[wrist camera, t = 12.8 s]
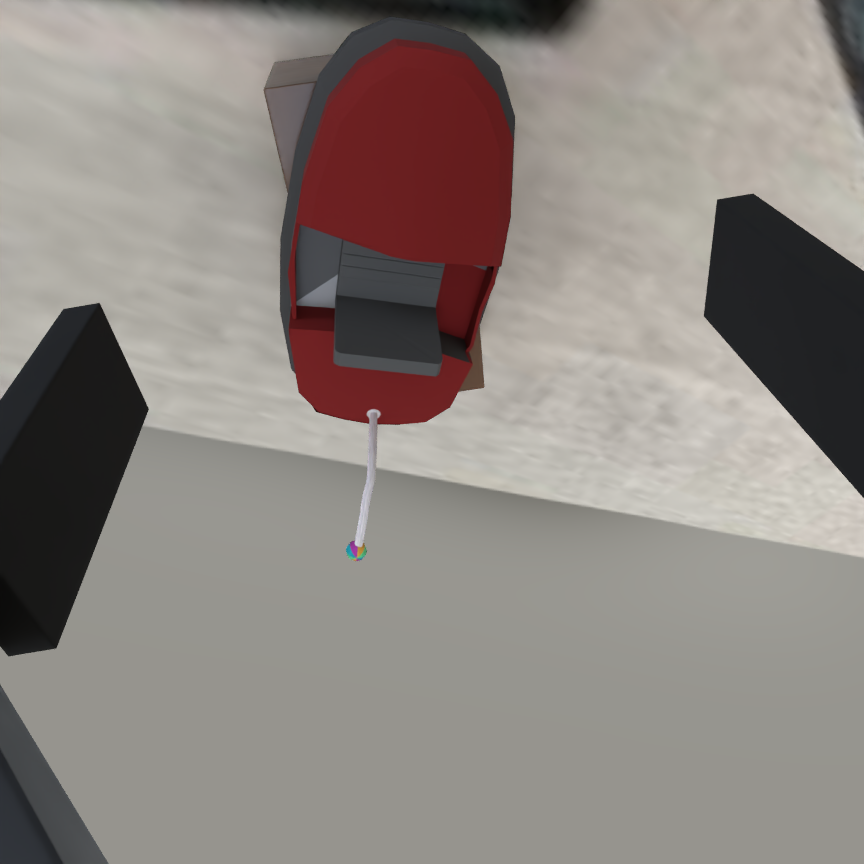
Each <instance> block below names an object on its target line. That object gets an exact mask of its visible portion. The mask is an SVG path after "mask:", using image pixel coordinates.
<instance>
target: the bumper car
mask: <svg viewBox="0 0 864 864" xmlns="http://www.w3.org/2000/svg"><path fill="white" fill-rule="evenodd" d="M514 129H515V115H514V112H513V109H512V105H511V102H510V99H509V95H508V92H507V89H506V85H505V82H504V79H503V76H502V72H501V69H500V66H499V65H498V64H497V63H496V62H495V61H494V60H493V59H492V58H491V57H490V56H488V55H487V54H486V53H485V52H484V51H483V50H482V49H481V48H480V47H479V46H478V45H477V44H476V43H475V42H474V41H473V40H472V39H470V38H469V37H468V36H467V35H466V34H465V33H462V32H458V31H455V30H452V29H449V28H446V27H442V26H439V25H436V24H433V23H430V22H425V21H418V20H411V19H404V18H397V17H388V18H385V19H383V20H380V21H378V22H375V23H373V24H371V25H368V26H366V27H363V28H361V29H358V30H356V31H353V32H351V34H350V35H349V36H348V37H347V38H346V40H345V41H344V42H343V43H342V45H341V46H340V47H339V49H338V50H337V51H336V53H335V54H334V55H333V57H332V58H331V59H330V61H329V62H328V63H327V65H326V66H325V67H324V68H323V70H322V71H321V72H320V74H319V76H318V79H317V82H316V86H315V89H314V92H313V95H312V98H311V102H310V105H309V108H308V111H307V115H306V118H305V121H304V124H303V127H302V131H301V134H300V137H299V140H298V143H297V147H296V150H295V154H294V160H293V166H292V172H291V178H290V184H289V190H288V197H287V203H286V209H285V215H284V221H283V227H282V233H281V254H280V312H281V317H282V322H283V328H284V333H285V338H286V343H287V349H288V354H289V359H290V364H291V369H292V370H293V371H294V372H295V374H296V379H297V384H298V390H299V393H300V394H301V395H302V396H303V397H304V398H305V399H306V400H307V401H308V402H309V403H310V404H311V405H312V406H313V408H314V409H315V411H316V412H318V413H322V414H326V415H330V416H333V417H337V418H341V419H345V420H351V421H356V422H362V423H368V424H369V446H368V467H367V481H366V485H365V488H364V492H363V496H362V502H361V508H360V515H359V522H358V527H357V532H356V538H355V541H352V542H350V544H349V545H348V546H347V548H346V552H347V555H348V557H349V558H350V559H351V560H354V561H359V560H362V558H363V557H364V556H365V555H366V552H367V551H366V548H365V545H364V543H363V541H364V535H365V529H366V525H367V518H368V511H369V505H370V499H371V495H372V492H373V487H374V484H375V473H376V454H377V424H393V425H400V424H409V423H421V422H427V421H428V420H430V419H431V418H433V417H435V416H436V415H438V414H440V413H441V412H443V411H445V410H446V409H448V408H450V406H451V404H452V403H453V401H454V399H455V397H456V395H457V393H458V391H459V390H460V388H461V386H462V384H463V382H464V380H465V378H466V377H467V375H468V373H469V371H470V369H471V367H472V365H473V363H472V359H471V356H470V353H469V351H470V350H471V349H472V347H473V345H474V341H475V338H476V335H477V332H478V329H479V326H480V323H481V320H482V317H483V314H484V311H485V308H486V305H487V302H488V299H489V296H490V293H491V291H492V289H493V286H494V284H495V279H496V276H497V273H498V270H499V267H500V266H501V264H502V259H503V254H504V249H505V243H506V238H507V233H508V227H509V222H510V217H511V197H512V177H513V153H514Z"/></svg>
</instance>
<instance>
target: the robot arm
mask: <svg viewBox="0 0 864 864" xmlns="http://www.w3.org/2000/svg"><path fill="white" fill-rule="evenodd" d="M704 317H705V318H706V319H707V320H708V321H709V323H710V324H711V325H712V326H713V327H714V328H715V329H716V331H717V332H718V333H719V334H720V335H721V336H722V337H723V338H724V340H725V341H726V342H727V343H728V344H729V345H730V346H731V348H732V349H733V350H734V351H735V352H736V353H737V354H738V356H739V357H740V358H741V359H742V360H743V361H744V362H745V363H746V365H747V366H748V367H749V368H750V369H751V370H752V371H753V373H754V374H755V375H756V376H757V377H758V378H759V379H760V381H761V382H762V383H763V384H764V385H765V386H766V387H767V388H768V390H769V391H770V392H771V393H772V394H773V395H774V396H775V398H776V399H777V400H778V401H779V402H780V403H781V404H782V406H783V407H784V408H785V409H786V410H787V411H788V412H789V414H790V415H791V416H792V417H793V418H794V419H795V420H796V421H797V423H798V424H799V425H800V426H801V427H802V428H803V429H804V431H805V432H806V433H807V434H808V435H809V436H810V437H811V439H812V440H813V441H814V442H815V443H816V444H817V445H818V446H819V448H820V449H821V450H822V451H823V452H824V453H825V454H826V456H827V457H828V458H829V459H830V460H831V461H832V462H833V464H834V465H835V466H836V467H837V468H838V469H839V470H840V472H841V473H842V474H843V475H844V476H845V477H846V478H847V479H848V481H849V482H850V483H851V484H852V485H853V486H854V487H855V489H856V490H857V491H858V492H859V493H860V494H861V495H862V497H863V498H864V271H863V270H861V269H860V268H859V267H857V266H856V265H854V264H853V263H851V262H850V261H849V260H847V259H846V258H844V257H843V256H841V255H840V254H839V253H837V252H836V251H834V250H833V249H831V248H830V247H829V246H827V245H826V244H824V243H823V242H821V241H820V240H819V239H817V238H816V237H814V236H813V235H811V234H810V233H809V232H807V231H806V230H804V229H803V228H801V227H800V226H799V225H797V224H796V223H794V222H793V221H792V220H790V219H789V218H787V217H786V216H784V215H783V214H782V213H780V212H779V211H777V210H776V209H774V208H773V207H772V206H770V205H769V204H767V203H766V202H764V201H763V200H762V199H760V198H759V197H757V196H756V195H754V194H748V195H742V196H736V197H730V198H724V199H718V200H717V206H716V215H715V224H714V232H713V241H712V250H711V258H710V267H709V276H708V285H707V293H706V302H705V311H704ZM148 410H149V409H148V406H147V404H146V402H145V400H144V398H143V396H142V393H141V391H140V389H139V387H138V385H137V383H136V381H135V378H134V376H133V374H132V372H131V370H130V368H129V365H128V363H127V361H126V359H125V357H124V355H123V353H122V350H121V348H120V346H119V344H118V342H117V340H116V337H115V335H114V333H113V331H112V329H111V327H110V325H109V322H108V320H107V318H106V316H105V314H104V312H103V309H102V307H101V305H100V303H97V304H91V305H85V306H79V307H73V308H67V309H63V311H62V312H61V313H60V315H59V316H58V318H57V319H56V321H55V322H54V324H53V325H52V326H51V328H50V329H49V331H48V332H47V334H46V335H45V337H44V338H43V339H42V341H41V342H40V344H39V345H38V347H37V348H36V349H35V351H34V352H33V354H32V355H31V357H30V358H29V360H28V361H27V362H26V364H25V365H24V367H23V368H22V370H21V371H20V373H19V374H18V375H17V377H16V378H15V380H14V381H13V383H12V384H11V386H10V387H9V388H8V390H7V391H6V393H5V394H4V396H3V397H2V398H1V400H0V647H1V648H2V649H3V650H4V651H5V653H6V654H7V655H8V656H13V655H19V654H25V653H31V652H37V651H43V650H49V649H54V648H57V645H58V643H59V640H60V638H61V635H62V632H63V630H64V627H65V625H66V622H67V619H68V617H69V614H70V612H71V609H72V606H73V604H74V601H75V599H76V596H77V594H78V591H79V588H80V586H81V583H82V580H83V578H84V575H85V573H86V570H87V568H88V565H89V562H90V560H91V557H92V555H93V552H94V550H95V547H96V544H97V542H98V539H99V536H100V534H101V532H102V529H103V526H104V524H105V521H106V519H107V516H108V513H109V510H110V508H111V506H112V503H113V500H114V498H115V495H116V493H117V490H118V487H119V485H120V482H121V480H122V477H123V475H124V472H125V469H126V467H127V464H128V462H129V459H130V456H131V454H132V451H133V449H134V446H135V444H136V441H137V438H138V436H139V433H140V431H141V428H142V425H143V423H144V420H145V418H146V415H147V412H148ZM0 864H108V862H107V861H106V859H105V857H104V856H103V854H102V852H101V851H100V849H99V847H98V846H97V844H96V842H95V841H94V839H93V837H92V836H91V834H90V832H89V831H88V829H87V827H86V826H85V824H84V822H83V821H82V819H81V817H80V816H79V814H78V813H77V811H76V809H75V808H74V806H73V804H72V803H71V801H70V799H69V798H68V796H67V794H66V793H65V791H64V789H63V788H62V786H61V784H60V783H59V781H58V779H57V778H56V776H55V775H54V773H53V771H52V770H51V768H50V767H49V765H48V763H47V761H46V760H45V758H44V756H43V755H42V753H41V751H40V750H39V748H38V747H37V745H36V743H35V741H34V740H33V738H32V736H31V735H30V733H29V732H28V730H27V728H26V727H25V725H24V723H23V722H22V720H21V718H20V717H19V715H18V713H17V712H16V710H15V708H14V707H13V705H12V703H11V702H10V700H9V698H8V697H7V695H6V693H5V692H4V690H3V688H2V687H1V685H0Z"/></svg>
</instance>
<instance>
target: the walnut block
mask: <svg viewBox="0 0 864 864" xmlns="http://www.w3.org/2000/svg"><path fill="white" fill-rule="evenodd" d="M333 55H334V54H332V55H325V56H318V57H310V58H303V59H296V60H289V61H282V62H275V63H274V65H273V67H272V70H271V72H270V75H269V77H268V80H267V82H266V85H265V87H264V93H265V98H266V102H267V106H268V111H269V115H270V119H271V123H272V128H273V132H274V136H275V141H276V145H277V149H278V154H279V158H280V162H281V166H282V171H283V175H284V179H285V184H286V188H287V192H288V190H289V184H290V178H291V172H292V166H293V160H294V154H295V150H296V147H297V143H298V140H299V137H300V134H301V131H302V127H303V124H304V121H305V118H306V115H307V111H308V108H309V105H310V102H311V98H312V95H313V92H314V89H315V86H316V82H317V79H318V76H319V74H320V72H321V71H322V70H323V68H324V67H325V66H326V65H327V63H328V62H329V61H330V59H331V58H332V57H333ZM469 353H470V356H471V359H472V363H473V365H472V367H471V369H470V371H469V373H468V375H467V377H466V378H465V380H464V382H463V384H462V386H461V388H460V390H459V391H466V390H472V389H479V388H484V376H483V363H482V350H481V337H480V326H479V329H478V332H477V335H476V338H475V341H474V345H473V347H472V349H471V350H470V351H469ZM459 391H458V392H459Z"/></svg>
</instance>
